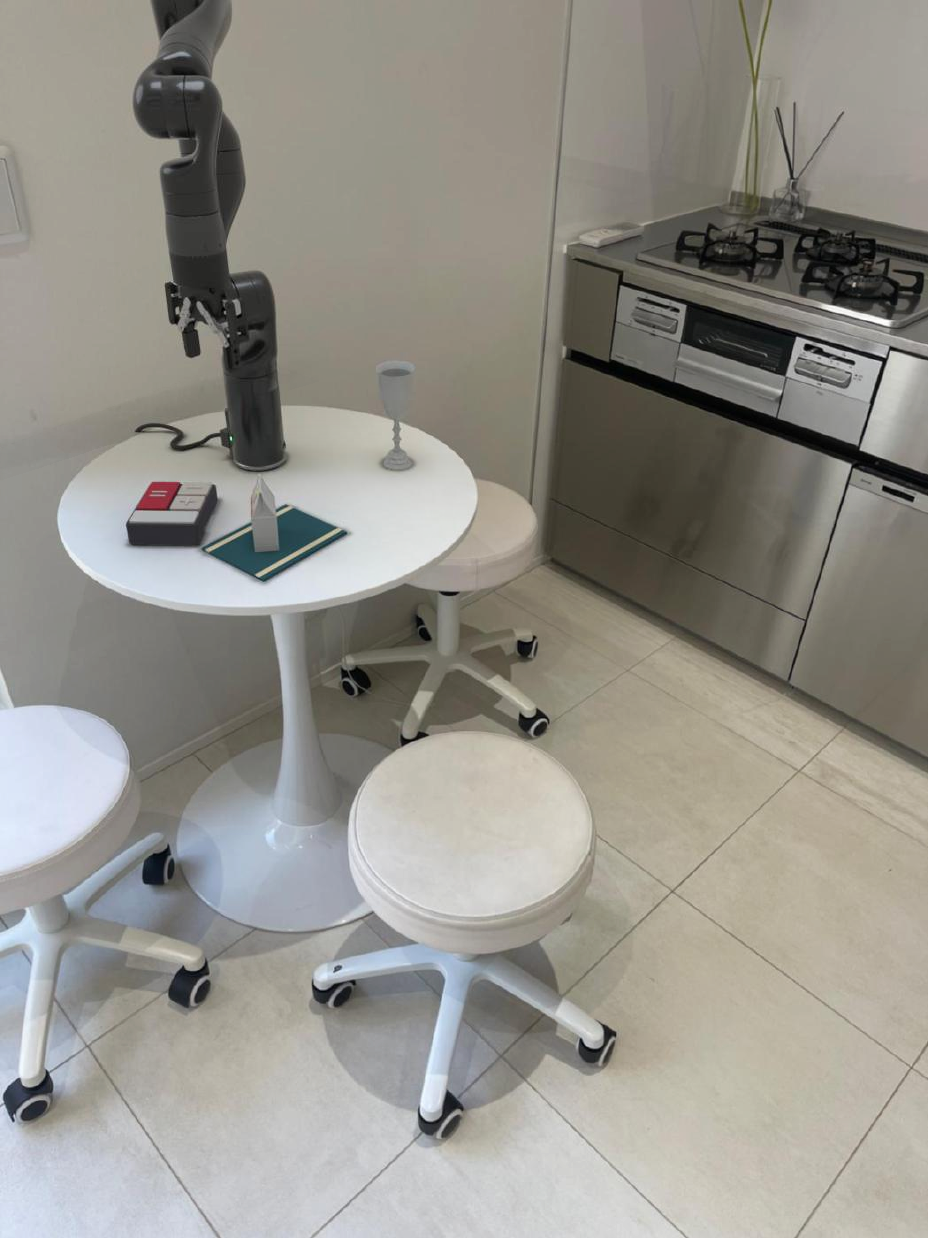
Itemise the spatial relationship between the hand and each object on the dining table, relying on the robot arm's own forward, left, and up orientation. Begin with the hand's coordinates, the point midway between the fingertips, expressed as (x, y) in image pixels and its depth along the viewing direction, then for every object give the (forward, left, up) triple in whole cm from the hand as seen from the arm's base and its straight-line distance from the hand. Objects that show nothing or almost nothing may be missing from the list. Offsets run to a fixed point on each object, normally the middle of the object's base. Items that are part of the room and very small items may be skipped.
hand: (213, 363), depth 137 cm
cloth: (+7, +2, -28) cm, 29 cm away
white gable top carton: (+6, +1, -28) cm, 28 cm away
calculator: (-10, -4, -28) cm, 30 cm away
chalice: (+4, +35, -28) cm, 45 cm away
